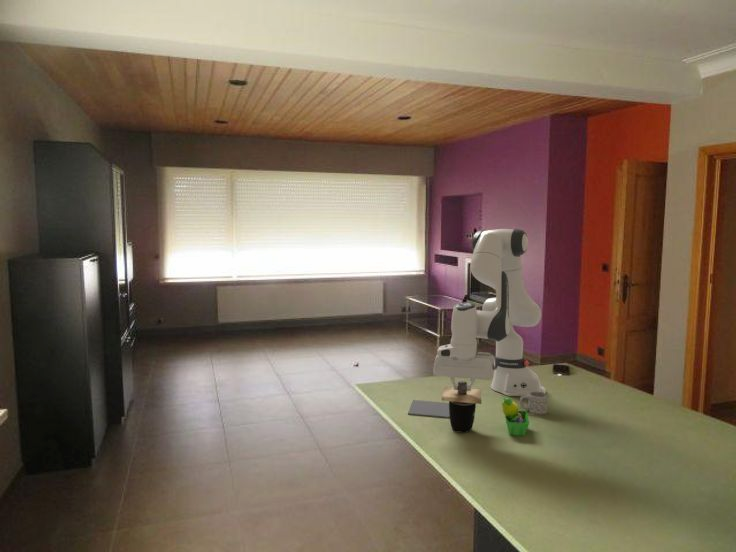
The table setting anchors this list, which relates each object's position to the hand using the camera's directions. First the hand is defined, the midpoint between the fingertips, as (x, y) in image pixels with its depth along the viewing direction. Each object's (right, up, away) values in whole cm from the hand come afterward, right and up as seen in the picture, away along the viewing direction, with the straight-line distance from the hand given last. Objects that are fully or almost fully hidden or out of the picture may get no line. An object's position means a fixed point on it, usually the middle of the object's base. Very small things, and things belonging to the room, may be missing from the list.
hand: (462, 389), depth 180 cm
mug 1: (0, -13, +1) cm, 14 cm away
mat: (-9, -11, +18) cm, 23 cm away
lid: (0, -2, 0) cm, 2 cm away
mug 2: (+30, -12, +18) cm, 37 cm away
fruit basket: (+18, -14, 0) cm, 23 cm away
